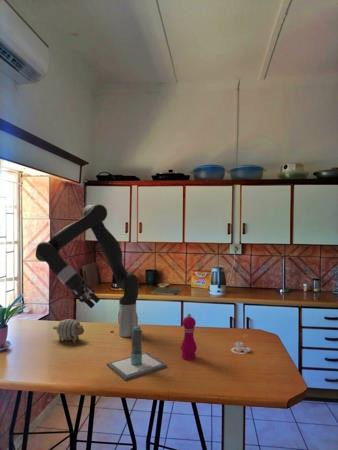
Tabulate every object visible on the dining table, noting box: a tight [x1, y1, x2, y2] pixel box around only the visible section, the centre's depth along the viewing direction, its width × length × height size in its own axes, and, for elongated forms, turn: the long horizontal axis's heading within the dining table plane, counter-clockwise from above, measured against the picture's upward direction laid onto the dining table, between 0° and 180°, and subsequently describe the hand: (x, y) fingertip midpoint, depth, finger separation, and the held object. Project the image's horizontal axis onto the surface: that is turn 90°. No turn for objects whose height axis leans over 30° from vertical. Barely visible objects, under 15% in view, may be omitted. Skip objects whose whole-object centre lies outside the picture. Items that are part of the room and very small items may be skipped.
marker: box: [130, 325, 143, 366], centre depth 136 cm, size 5×5×16 cm
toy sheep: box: [52, 318, 85, 344], centre depth 165 cm, size 11×17×11 cm, turn 84°
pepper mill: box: [180, 313, 198, 361], centre depth 146 cm, size 7×7×20 cm
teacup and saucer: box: [230, 341, 251, 355], centre depth 154 cm, size 9×8×4 cm
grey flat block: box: [106, 351, 168, 382], centre depth 136 cm, size 20×16×2 cm
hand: (95, 304), depth 141 cm, fingers open, 8 cm apart
